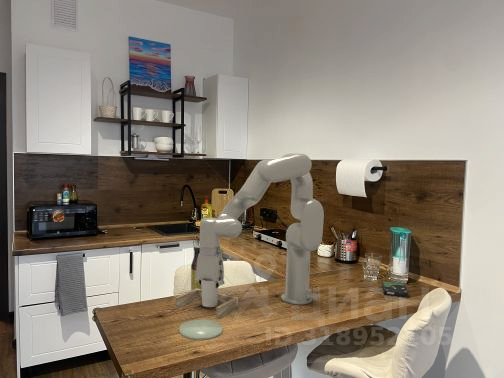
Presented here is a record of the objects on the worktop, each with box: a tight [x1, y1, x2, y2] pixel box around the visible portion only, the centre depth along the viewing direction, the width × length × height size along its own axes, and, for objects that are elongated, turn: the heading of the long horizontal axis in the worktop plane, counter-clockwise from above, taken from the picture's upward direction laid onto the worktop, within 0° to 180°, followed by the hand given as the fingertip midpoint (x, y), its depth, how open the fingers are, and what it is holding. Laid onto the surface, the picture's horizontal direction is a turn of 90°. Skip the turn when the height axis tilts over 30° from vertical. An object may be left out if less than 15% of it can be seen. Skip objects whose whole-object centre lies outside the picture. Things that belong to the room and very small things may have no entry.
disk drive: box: [381, 281, 409, 299], centre depth 181 cm, size 10×3×15 cm
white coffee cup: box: [201, 279, 219, 308], centre depth 152 cm, size 7×7×10 cm
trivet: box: [179, 319, 224, 341], centre depth 132 cm, size 14×14×1 cm
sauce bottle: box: [190, 244, 202, 291], centre depth 168 cm, size 6×6×20 cm
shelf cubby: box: [174, 288, 239, 320], centre depth 152 cm, size 19×13×4 cm
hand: (209, 298), depth 152 cm, fingers closed on white coffee cup, 2 cm apart
